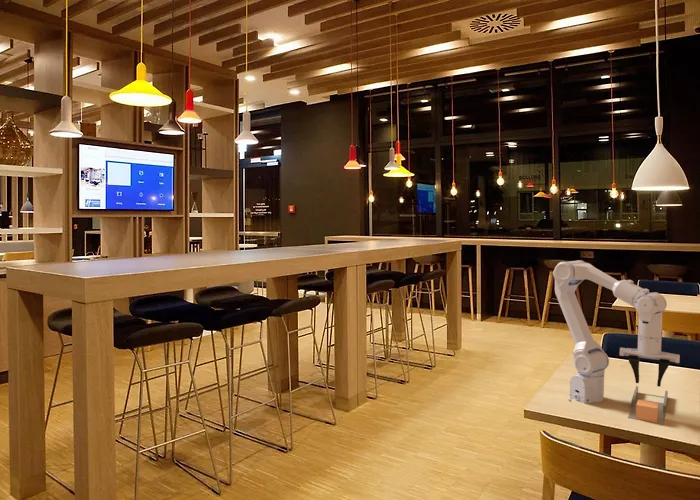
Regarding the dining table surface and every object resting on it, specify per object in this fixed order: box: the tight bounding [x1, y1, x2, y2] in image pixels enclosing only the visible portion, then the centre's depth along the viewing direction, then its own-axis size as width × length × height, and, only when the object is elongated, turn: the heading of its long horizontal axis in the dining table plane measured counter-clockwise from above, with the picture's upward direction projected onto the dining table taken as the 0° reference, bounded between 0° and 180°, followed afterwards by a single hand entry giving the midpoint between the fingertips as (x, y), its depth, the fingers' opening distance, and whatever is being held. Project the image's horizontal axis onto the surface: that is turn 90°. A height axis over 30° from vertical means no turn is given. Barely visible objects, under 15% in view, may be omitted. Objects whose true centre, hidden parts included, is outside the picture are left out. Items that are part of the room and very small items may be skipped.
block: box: [636, 398, 658, 424], centre depth 145 cm, size 5×5×4 cm
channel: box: [627, 385, 669, 425], centre depth 153 cm, size 25×9×3 cm, turn 147°
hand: (648, 383), depth 146 cm, fingers open, 5 cm apart
